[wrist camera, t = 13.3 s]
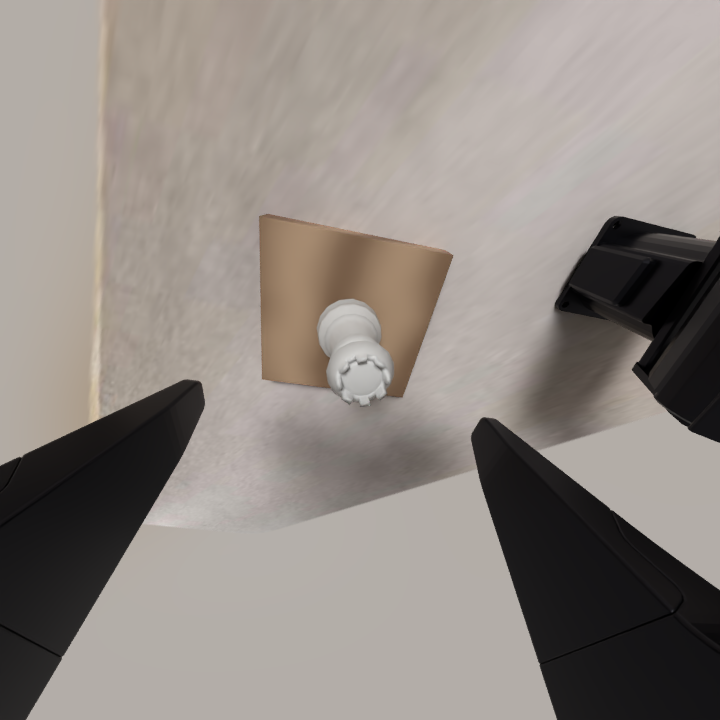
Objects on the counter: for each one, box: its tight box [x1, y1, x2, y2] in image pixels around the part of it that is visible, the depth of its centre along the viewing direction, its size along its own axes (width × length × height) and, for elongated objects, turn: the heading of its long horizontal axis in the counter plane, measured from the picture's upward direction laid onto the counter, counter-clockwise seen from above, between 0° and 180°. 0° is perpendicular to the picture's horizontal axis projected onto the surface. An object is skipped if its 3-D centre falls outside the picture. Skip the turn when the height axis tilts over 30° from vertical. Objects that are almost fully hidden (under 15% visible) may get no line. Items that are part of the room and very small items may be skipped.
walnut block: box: [259, 214, 453, 397], centre depth 20 cm, size 12×12×2 cm
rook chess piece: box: [317, 299, 394, 407], centre depth 15 cm, size 4×4×8 cm
